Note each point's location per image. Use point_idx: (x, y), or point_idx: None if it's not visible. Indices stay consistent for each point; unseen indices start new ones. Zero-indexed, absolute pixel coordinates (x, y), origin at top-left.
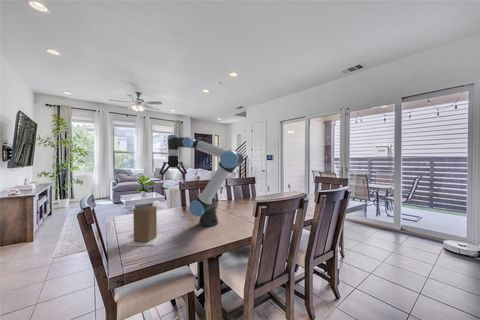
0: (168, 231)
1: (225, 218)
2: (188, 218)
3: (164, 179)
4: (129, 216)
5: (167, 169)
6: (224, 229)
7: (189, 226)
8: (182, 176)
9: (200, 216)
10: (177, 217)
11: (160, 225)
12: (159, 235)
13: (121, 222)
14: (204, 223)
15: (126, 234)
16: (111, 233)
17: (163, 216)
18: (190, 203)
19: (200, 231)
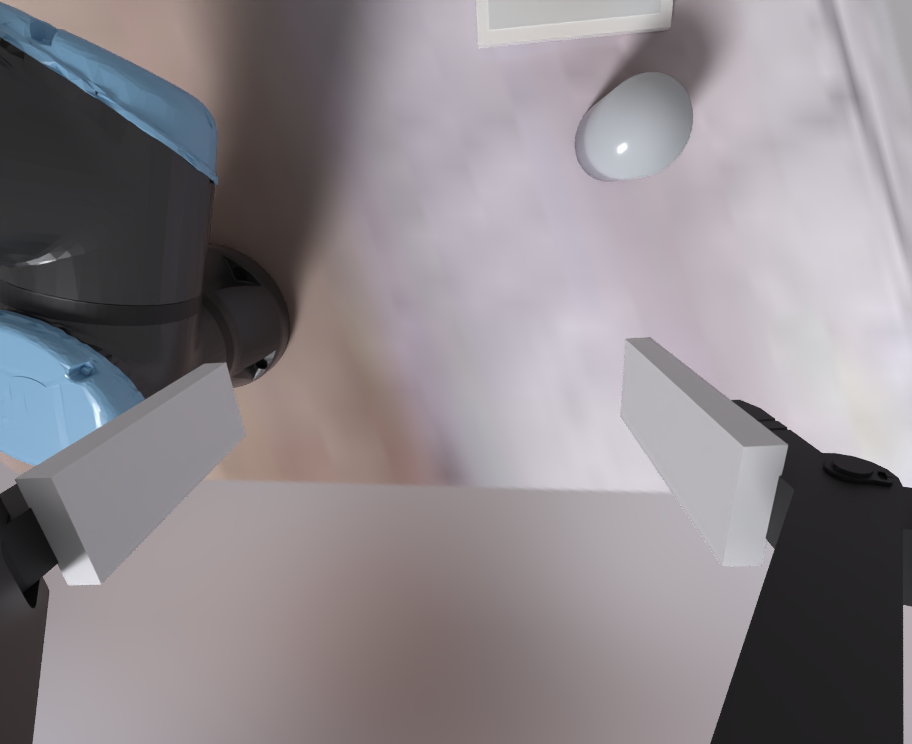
0: (458, 139)
1: None
2: (403, 428)
3: (660, 405)
4: None
5: (719, 727)
6: None
7: (337, 253)
8: (72, 445)
9: (242, 309)
10: (490, 451)
11: (562, 277)
12: (488, 5)
13: (885, 350)
14: (212, 249)
15: (768, 67)
16: (898, 91)
17: (600, 476)
18: (133, 68)
19: (217, 139)
